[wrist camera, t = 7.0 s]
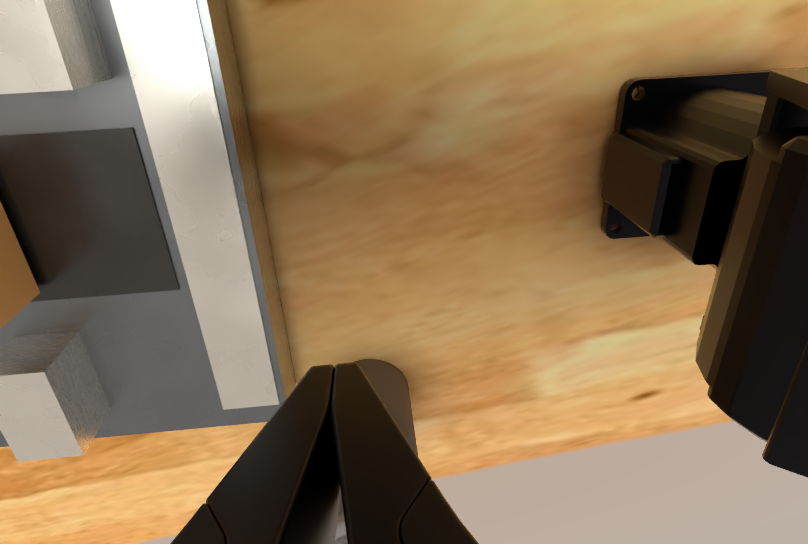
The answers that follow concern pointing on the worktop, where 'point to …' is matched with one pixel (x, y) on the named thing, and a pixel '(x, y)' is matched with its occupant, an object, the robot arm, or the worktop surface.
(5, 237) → the block
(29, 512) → the worktop surface
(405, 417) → the post
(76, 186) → the breaker panel
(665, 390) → the worktop surface
